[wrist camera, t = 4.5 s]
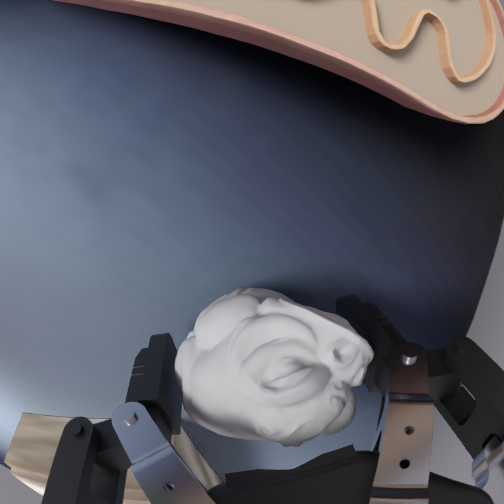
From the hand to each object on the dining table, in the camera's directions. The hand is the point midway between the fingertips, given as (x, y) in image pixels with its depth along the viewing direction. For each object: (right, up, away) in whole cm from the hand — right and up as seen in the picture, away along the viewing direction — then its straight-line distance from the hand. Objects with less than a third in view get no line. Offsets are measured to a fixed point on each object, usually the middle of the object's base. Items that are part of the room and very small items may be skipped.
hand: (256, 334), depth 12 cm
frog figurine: (0, +1, +2) cm, 2 cm away
